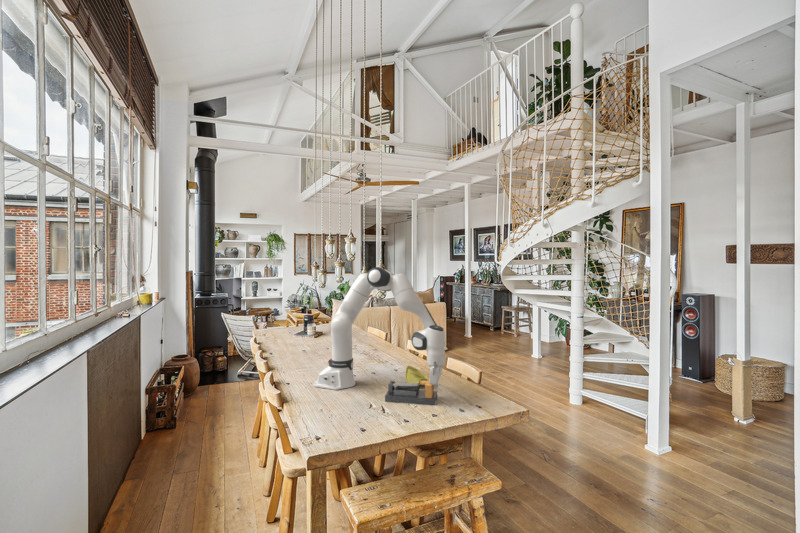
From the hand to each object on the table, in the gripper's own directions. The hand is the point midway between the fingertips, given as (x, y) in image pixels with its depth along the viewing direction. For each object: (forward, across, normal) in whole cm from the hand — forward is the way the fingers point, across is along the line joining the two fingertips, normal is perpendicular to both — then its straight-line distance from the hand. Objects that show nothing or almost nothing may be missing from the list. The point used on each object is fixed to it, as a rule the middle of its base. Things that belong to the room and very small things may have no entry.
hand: (435, 388), depth 189 cm
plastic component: (+7, +26, +13) cm, 29 cm away
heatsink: (+6, 0, +12) cm, 14 cm away
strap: (0, 0, +16) cm, 16 cm away
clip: (+3, 0, +4) cm, 5 cm away
